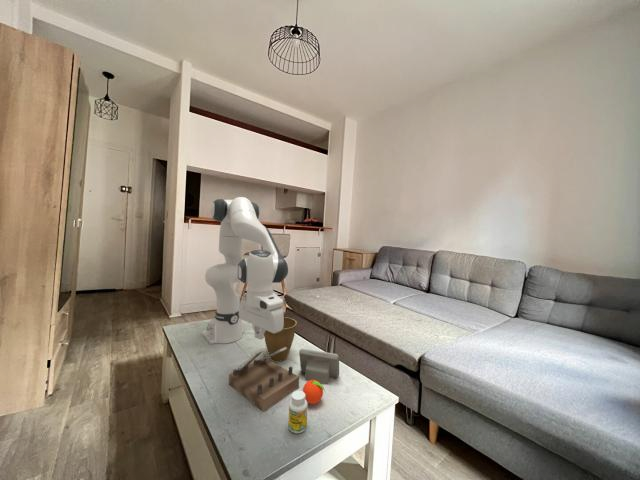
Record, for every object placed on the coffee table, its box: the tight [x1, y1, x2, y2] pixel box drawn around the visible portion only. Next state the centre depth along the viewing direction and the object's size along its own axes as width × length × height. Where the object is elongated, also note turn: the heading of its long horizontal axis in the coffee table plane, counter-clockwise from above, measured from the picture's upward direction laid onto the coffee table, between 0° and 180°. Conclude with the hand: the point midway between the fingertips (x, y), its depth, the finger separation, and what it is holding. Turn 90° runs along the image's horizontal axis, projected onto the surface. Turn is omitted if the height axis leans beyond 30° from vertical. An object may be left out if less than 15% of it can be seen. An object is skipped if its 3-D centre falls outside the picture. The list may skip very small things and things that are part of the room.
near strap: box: [236, 348, 265, 373], centre depth 87 cm, size 16×3×1 cm
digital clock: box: [298, 348, 340, 385], centre depth 96 cm, size 16×9×11 cm, turn 65°
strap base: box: [228, 354, 300, 412], centre depth 89 cm, size 20×16×7 cm
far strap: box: [257, 347, 287, 362], centre depth 93 cm, size 16×3×1 cm
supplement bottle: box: [288, 390, 308, 434], centre depth 71 cm, size 5×5×10 cm
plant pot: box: [264, 316, 297, 363], centre depth 109 cm, size 15×15×16 cm
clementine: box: [302, 380, 326, 405], centre depth 82 cm, size 8×7×7 cm
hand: (259, 337), depth 83 cm, fingers closed
